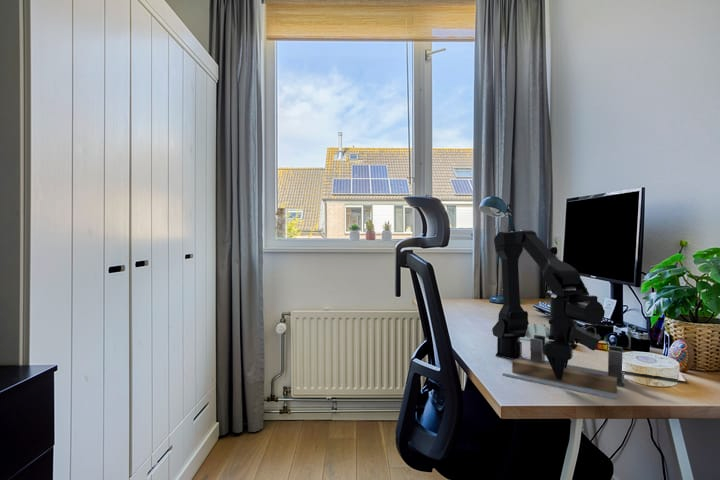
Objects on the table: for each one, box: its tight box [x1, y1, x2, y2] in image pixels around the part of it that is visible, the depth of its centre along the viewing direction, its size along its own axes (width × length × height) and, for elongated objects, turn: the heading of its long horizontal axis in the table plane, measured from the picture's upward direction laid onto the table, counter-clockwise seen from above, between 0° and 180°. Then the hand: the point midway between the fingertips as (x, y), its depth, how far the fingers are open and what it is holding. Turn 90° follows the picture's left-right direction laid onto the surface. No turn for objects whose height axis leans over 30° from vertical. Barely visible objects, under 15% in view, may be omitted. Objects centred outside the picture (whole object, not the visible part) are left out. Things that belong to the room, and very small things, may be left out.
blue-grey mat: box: [502, 365, 617, 400], centre depth 101 cm, size 26×7×1 cm, turn 55°
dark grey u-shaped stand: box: [529, 335, 625, 387], centre depth 107 cm, size 23×7×8 cm, turn 55°
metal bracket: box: [520, 322, 554, 343], centre depth 144 cm, size 14×6×15 cm
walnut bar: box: [511, 358, 618, 395], centre depth 100 cm, size 24×3×3 cm, turn 55°
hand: (561, 375), depth 100 cm, fingers open, 7 cm apart
